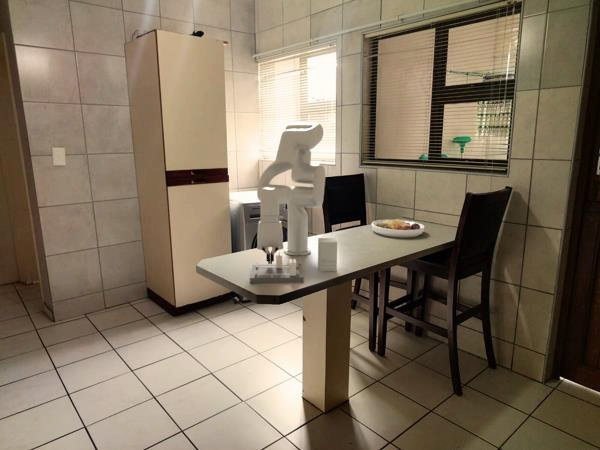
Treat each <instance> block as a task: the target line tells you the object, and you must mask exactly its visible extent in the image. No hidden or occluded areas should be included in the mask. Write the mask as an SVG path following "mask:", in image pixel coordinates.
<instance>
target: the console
mask: <svg viewBox="0 0 600 450" xmlns="http://www.w3.org/2000/svg"><path fill="white" fill-rule="evenodd" d="M249 280H250V284H274V283H275V284H276V283H277V284H280V283H281V284H282V283H283V284H285V283H286V284H287V283H294V284H296V283H297V284H299V283H300V284H301V283H303V284H304V273H303V269H302V264H298V262H296V276H290V274H289V264H282V268H276V264H259V262H256V263H255V264H252V266H251V272H250V279H249Z"/></svg>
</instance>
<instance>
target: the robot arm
mask: <svg viewBox="0 0 600 450" xmlns="http://www.w3.org/2000/svg"><path fill="white" fill-rule="evenodd" d="M323 137H324V128H323V126H322V124H320V123H317V122H295V123H294V122H293V123H290V124H287V126H286V127H285V130H284V131H283V132H282V133H281V136H280V140H279V145H278V149H277V152H276V157H275V160H274V161H273V162H272V163H270V164H269V165H268V166H267V167H266V169H265V170H264V171H263V172H262V174H261V176H260V179H259V181H258V186H257V193H256V194H257V198H258V200H259V201H260V204H259V205H260V220H259V221H258V224H257V235H256V237H257V246H256V249H257V250H261V251H263V252H264V253H265V255H266V260H265V261H266V262H267V265H273V262H275V254H276V253H277V252H278V251H280V250H283V252H284V254H286V255H289V256H295V257H296V256H297V257H299V256H306V255H309V254H311V248H309V247H308V244H309V243H308V235H309V214H308V213H307V211H306V209H305V208H310V209H320V208H321V207H322V206H323V202H324V196H325V186H326V169H325V166H324V165H323V164H321V163H317V162H316V163H311V160H312V159H311V158H312V152H311V150H312V149H314V148H315V147H316V146H317V145H319V144H320V142H321V141H322V140H323ZM290 170H291V171H290ZM287 171H290V172H291V174H290V175H291V181H292V182H293V183H296V184H305V185H306V184H307V185H313V186H305V185H304V186H303V185H302V186H301V185H296V186H295V185H294V186H288V185H285V184H284V185H283V184H270V183H271V181H272V180H273V179H275V177H277V176H278V175H280V174H283V173H285V172H287ZM280 205H286V206H287V207H286V208H287V247H286V248H284V244H283V243H284V234H283V233H284V232H283V223H282V221H281V220H283V219H284V216H283V215H280ZM269 248H271V250H270V251H269Z"/></svg>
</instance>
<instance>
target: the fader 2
mask: <svg viewBox="0 0 600 450" xmlns="http://www.w3.org/2000/svg"><path fill="white" fill-rule="evenodd" d="M288 261H289V263H288V265H289V274H290V276H296V263H297V259H296V258H294V259H293V258H289V259H288Z"/></svg>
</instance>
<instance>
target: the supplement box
mask: <svg viewBox="0 0 600 450" xmlns="http://www.w3.org/2000/svg"><path fill="white" fill-rule="evenodd" d="M317 241H318V243H317V250H318V251H317V266H318V267H317V268H318V271H319V272H337V270H338V269H337V268H338V241H337V240H336V238H335V237H318V240H317Z"/></svg>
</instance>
